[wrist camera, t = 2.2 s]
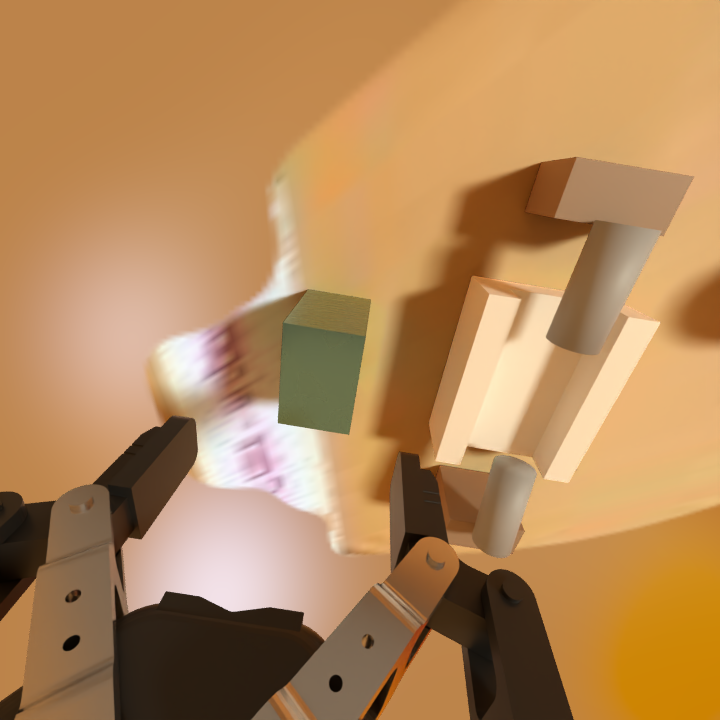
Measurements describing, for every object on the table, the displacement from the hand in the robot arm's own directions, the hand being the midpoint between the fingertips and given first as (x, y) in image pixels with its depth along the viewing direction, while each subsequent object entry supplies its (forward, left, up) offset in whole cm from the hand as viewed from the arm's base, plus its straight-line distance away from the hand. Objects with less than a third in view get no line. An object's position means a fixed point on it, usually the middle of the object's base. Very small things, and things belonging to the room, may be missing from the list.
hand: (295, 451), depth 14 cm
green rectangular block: (0, 0, -11) cm, 11 cm away
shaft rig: (0, +12, -11) cm, 16 cm away
